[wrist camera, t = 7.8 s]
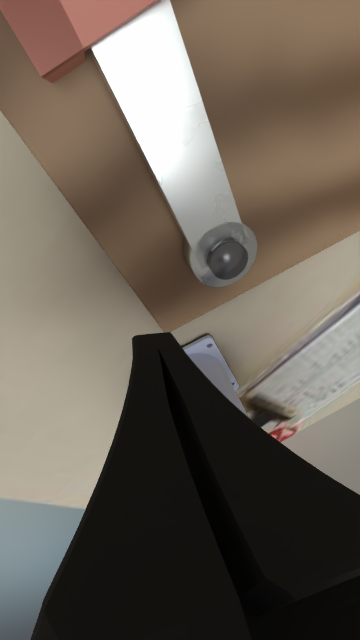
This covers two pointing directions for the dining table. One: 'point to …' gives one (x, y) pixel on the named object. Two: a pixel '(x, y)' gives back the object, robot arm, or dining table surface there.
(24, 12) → the keeper
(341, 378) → the dining table surface
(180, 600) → the robot arm
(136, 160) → the board
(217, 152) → the link
